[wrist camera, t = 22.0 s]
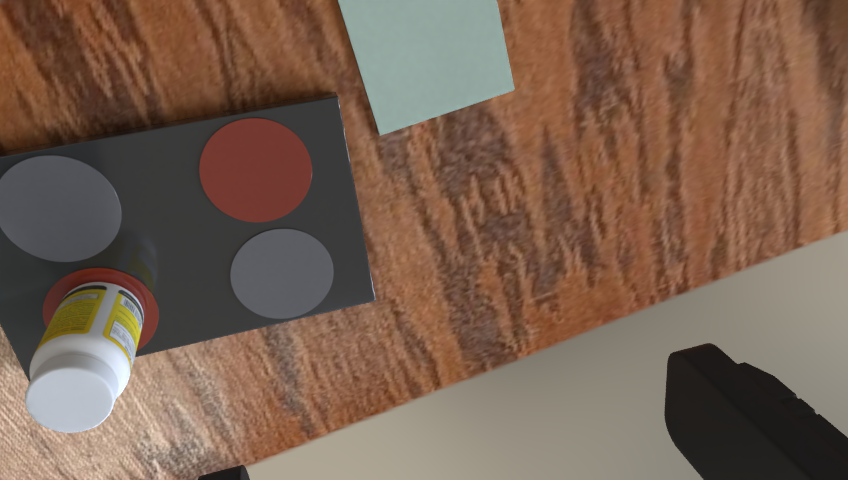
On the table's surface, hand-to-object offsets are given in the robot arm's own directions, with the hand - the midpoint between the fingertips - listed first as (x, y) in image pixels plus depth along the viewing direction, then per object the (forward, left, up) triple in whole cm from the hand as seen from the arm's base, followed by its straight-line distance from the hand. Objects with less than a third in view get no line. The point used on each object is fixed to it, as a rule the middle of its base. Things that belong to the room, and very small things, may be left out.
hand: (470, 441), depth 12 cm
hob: (+7, -10, -30) cm, 32 cm away
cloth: (-2, +7, -30) cm, 31 cm away
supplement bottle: (+10, -15, -29) cm, 34 cm away
